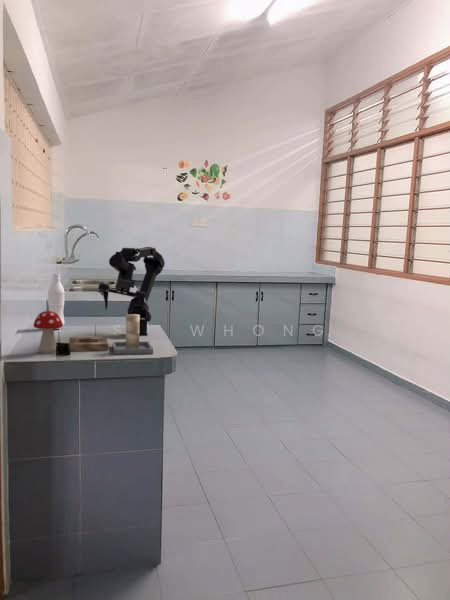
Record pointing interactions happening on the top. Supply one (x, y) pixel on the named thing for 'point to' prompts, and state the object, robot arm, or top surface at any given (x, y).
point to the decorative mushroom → (47, 330)
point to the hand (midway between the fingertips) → (117, 312)
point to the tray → (121, 349)
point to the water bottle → (56, 297)
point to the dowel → (132, 331)
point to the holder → (88, 344)
